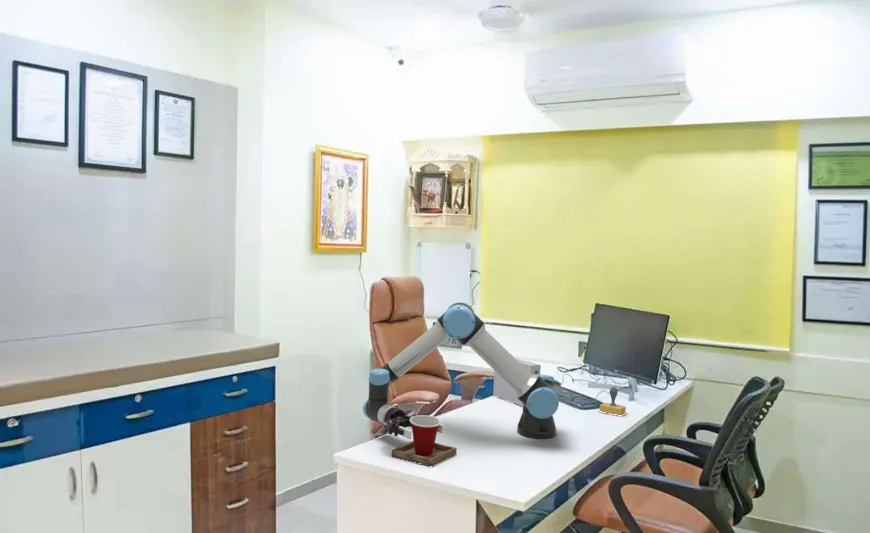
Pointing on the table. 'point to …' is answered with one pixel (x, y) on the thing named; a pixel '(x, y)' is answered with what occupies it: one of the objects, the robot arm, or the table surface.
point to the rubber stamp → (613, 404)
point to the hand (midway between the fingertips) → (426, 432)
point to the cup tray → (437, 456)
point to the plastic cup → (424, 433)
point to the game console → (505, 389)
